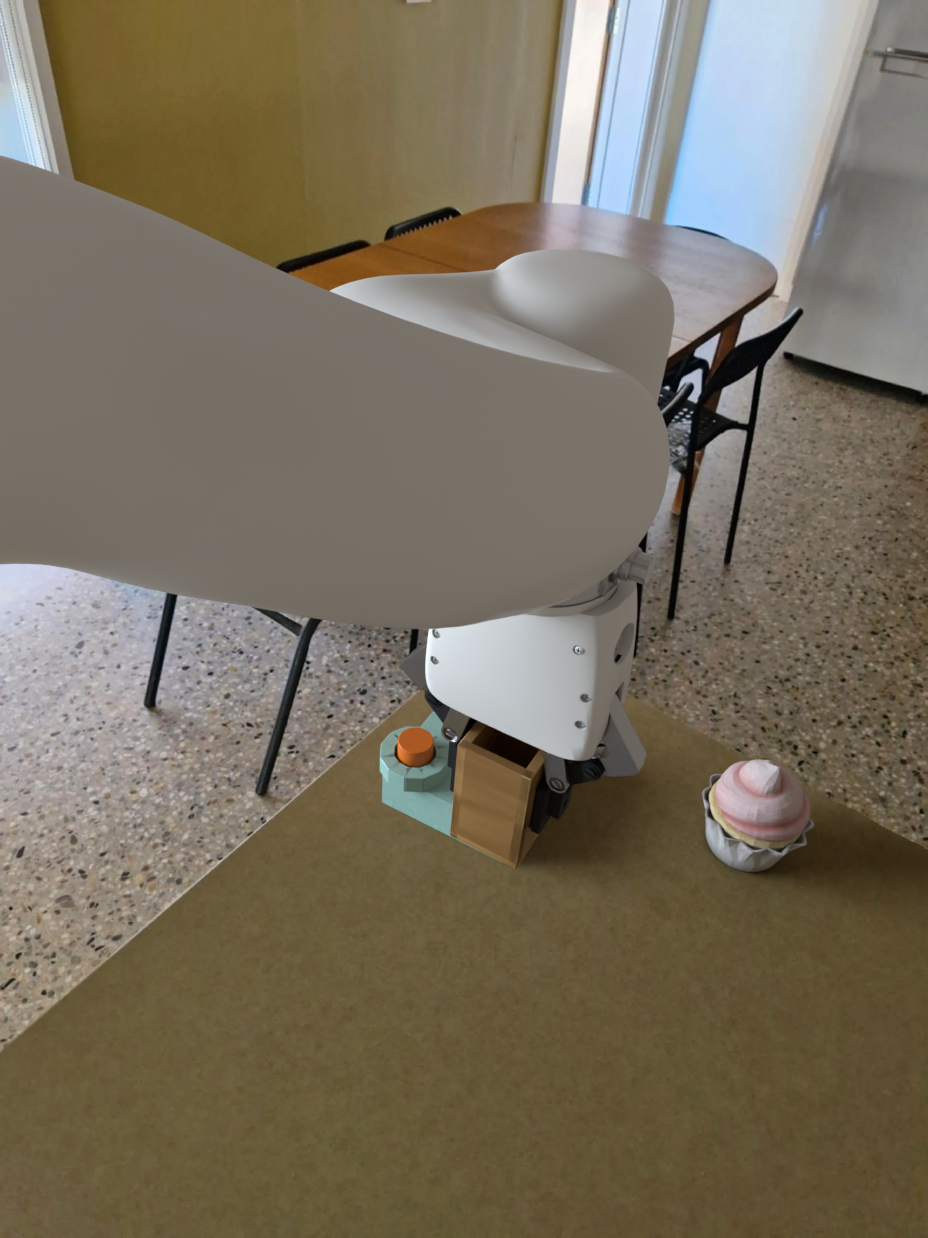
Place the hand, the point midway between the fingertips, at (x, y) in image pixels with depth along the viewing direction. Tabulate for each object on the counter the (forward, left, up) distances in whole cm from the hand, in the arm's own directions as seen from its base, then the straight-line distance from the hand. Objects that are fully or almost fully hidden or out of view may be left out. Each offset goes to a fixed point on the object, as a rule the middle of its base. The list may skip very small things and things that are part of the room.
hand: (505, 794), depth 52 cm
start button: (+12, +13, -16) cm, 24 cm away
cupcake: (+23, -14, -22) cm, 35 cm away
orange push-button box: (+16, +9, -22) cm, 29 cm away
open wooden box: (0, 0, -3) cm, 3 cm away
